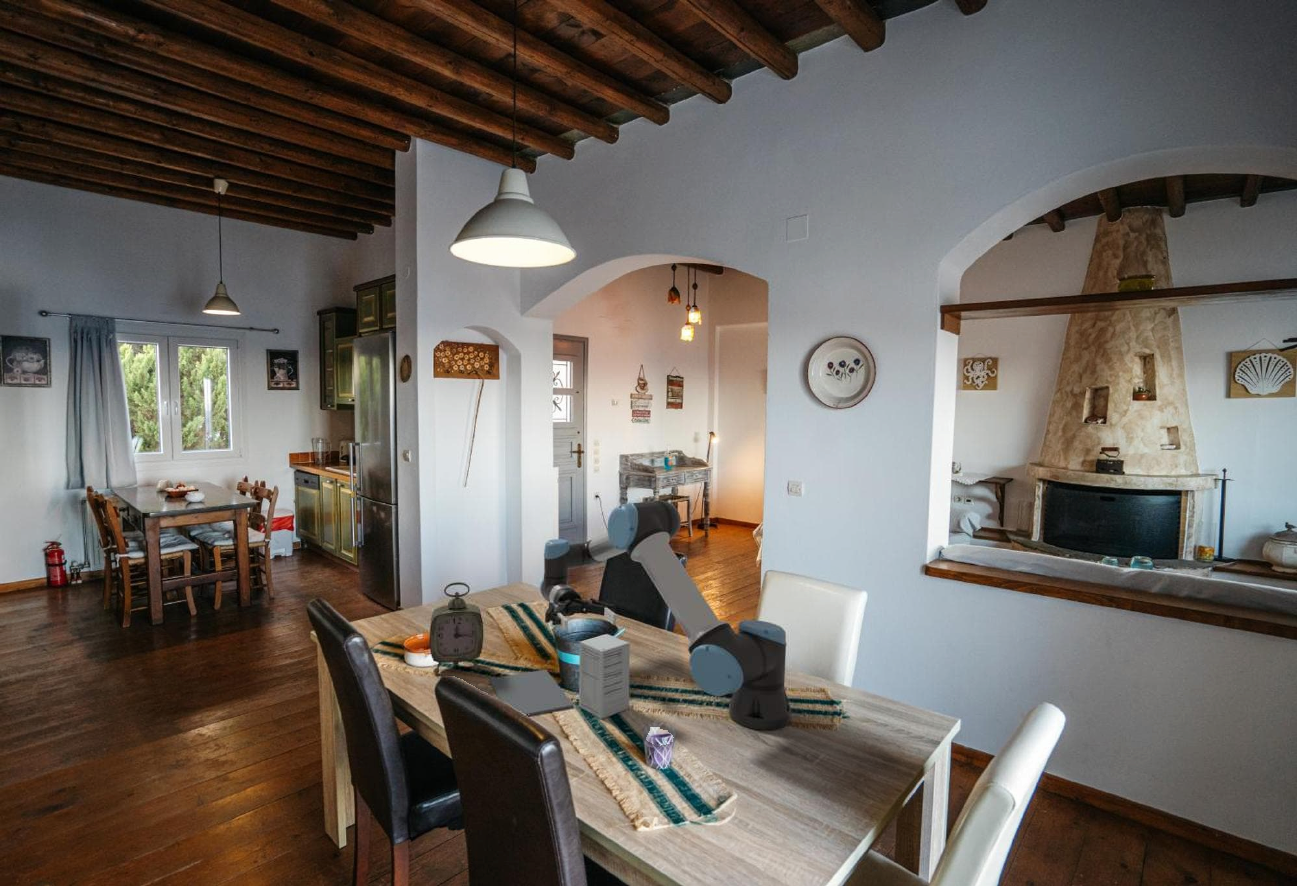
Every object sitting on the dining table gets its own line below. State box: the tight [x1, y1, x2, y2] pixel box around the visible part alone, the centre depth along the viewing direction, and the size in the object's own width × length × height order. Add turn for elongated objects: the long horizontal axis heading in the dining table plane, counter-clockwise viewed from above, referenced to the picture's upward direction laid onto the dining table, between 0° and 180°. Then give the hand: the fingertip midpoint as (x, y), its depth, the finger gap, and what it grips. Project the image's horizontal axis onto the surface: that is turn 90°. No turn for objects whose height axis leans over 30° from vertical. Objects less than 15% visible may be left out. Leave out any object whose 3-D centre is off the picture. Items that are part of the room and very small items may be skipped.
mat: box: [489, 669, 574, 717], centre depth 167 cm, size 24×16×1 cm, turn 26°
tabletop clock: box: [429, 581, 484, 675], centre depth 181 cm, size 14×9×25 cm, turn 108°
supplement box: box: [578, 633, 631, 720], centre depth 160 cm, size 10×9×17 cm
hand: (590, 622), depth 168 cm, fingers open, 13 cm apart
